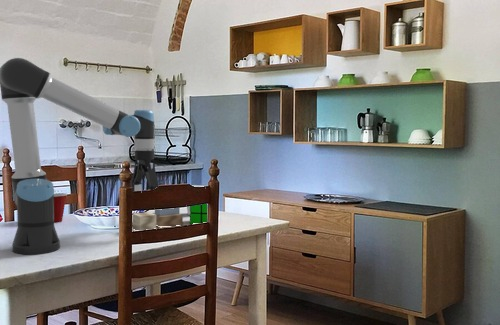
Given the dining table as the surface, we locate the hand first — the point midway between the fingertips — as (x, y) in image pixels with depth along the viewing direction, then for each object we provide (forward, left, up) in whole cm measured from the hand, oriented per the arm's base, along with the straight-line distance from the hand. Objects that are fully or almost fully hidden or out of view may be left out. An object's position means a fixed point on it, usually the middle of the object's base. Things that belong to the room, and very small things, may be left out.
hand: (144, 203), depth 220 cm
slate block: (+13, +7, -7) cm, 16 cm away
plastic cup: (-25, +37, -11) cm, 46 cm away
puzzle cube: (+29, +4, -12) cm, 31 cm away
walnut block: (+13, +7, -12) cm, 19 cm away
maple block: (0, 0, -11) cm, 11 cm away
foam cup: (+35, +23, -11) cm, 43 cm away
